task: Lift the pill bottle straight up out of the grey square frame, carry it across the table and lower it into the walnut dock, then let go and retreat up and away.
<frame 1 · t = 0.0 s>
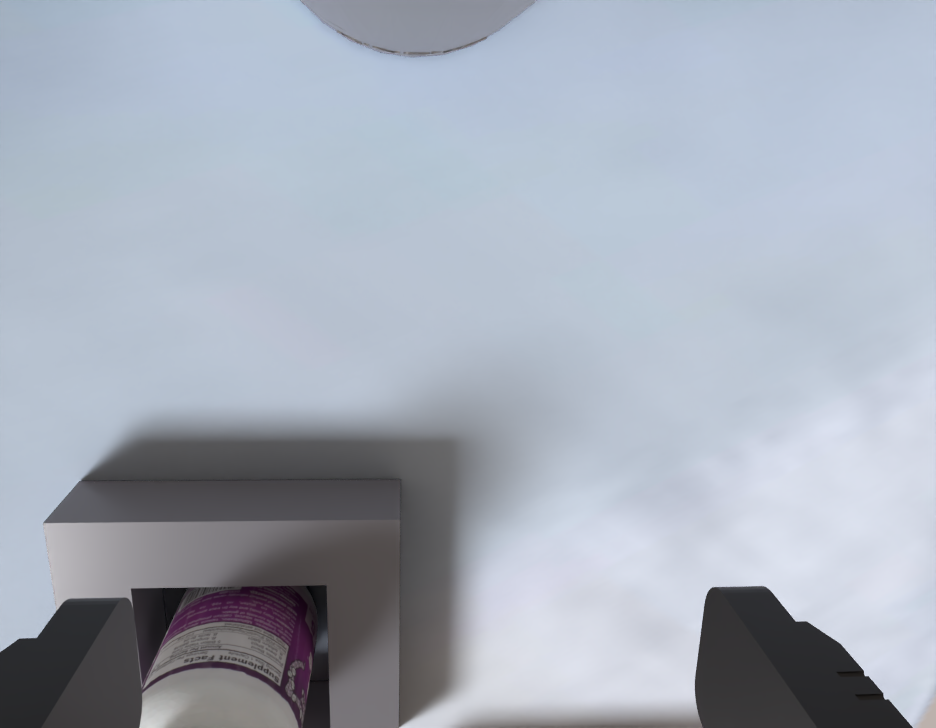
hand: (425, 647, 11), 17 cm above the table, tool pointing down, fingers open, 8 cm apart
grey square frame: (251, 614, 30), on the table
pill bottle: (252, 610, 30), resting in grey square frame
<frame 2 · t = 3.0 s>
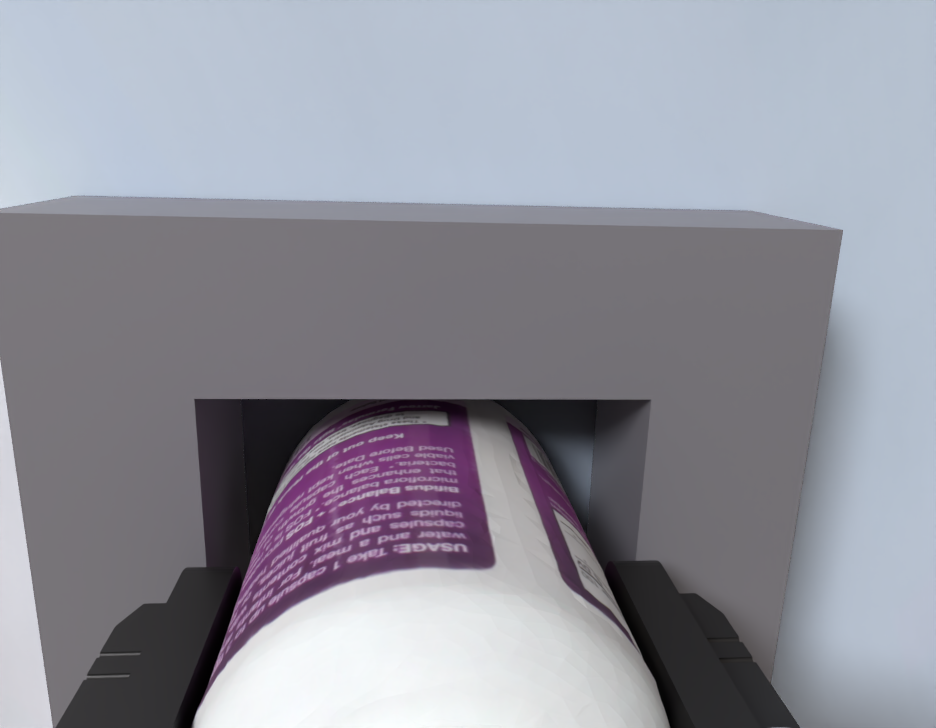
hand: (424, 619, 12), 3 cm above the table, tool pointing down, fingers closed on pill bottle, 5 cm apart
grey square frame: (421, 510, 15), on the table
pill bottle: (421, 505, 15), resting in grey square frame, touching gripper
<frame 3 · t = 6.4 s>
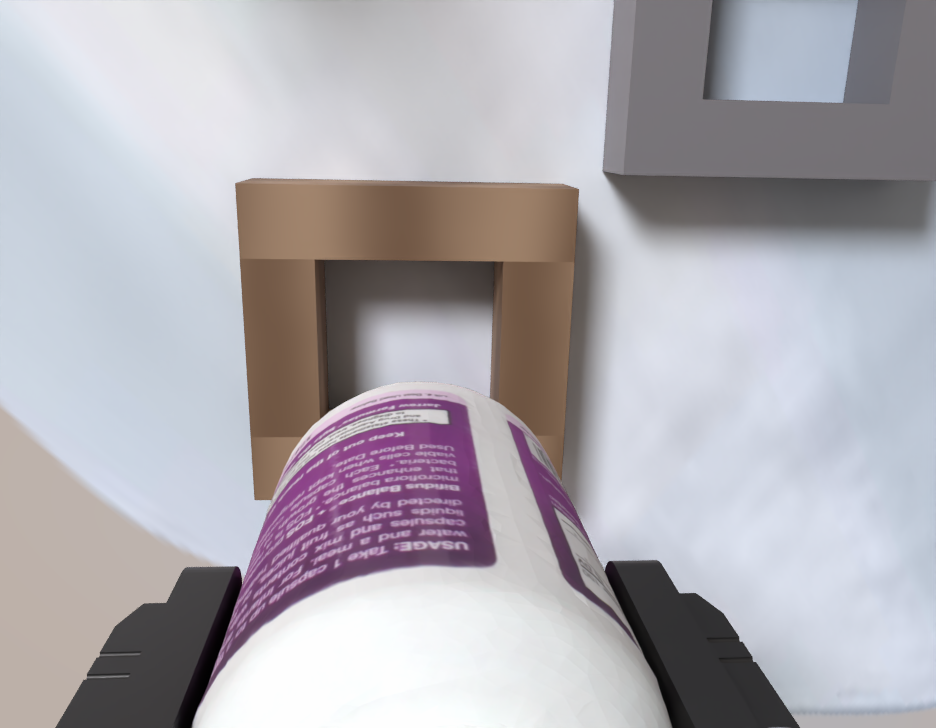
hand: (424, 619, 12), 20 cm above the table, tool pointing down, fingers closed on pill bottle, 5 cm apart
grey square frame: (770, 10, 28), on the table
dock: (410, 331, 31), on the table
pill bottle: (421, 504, 15), point 16 cm above the table, touching gripper
when the fingers open (5 cm above the table, at t = 9.8 s): pill bottle drops 1 cm, resting in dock.
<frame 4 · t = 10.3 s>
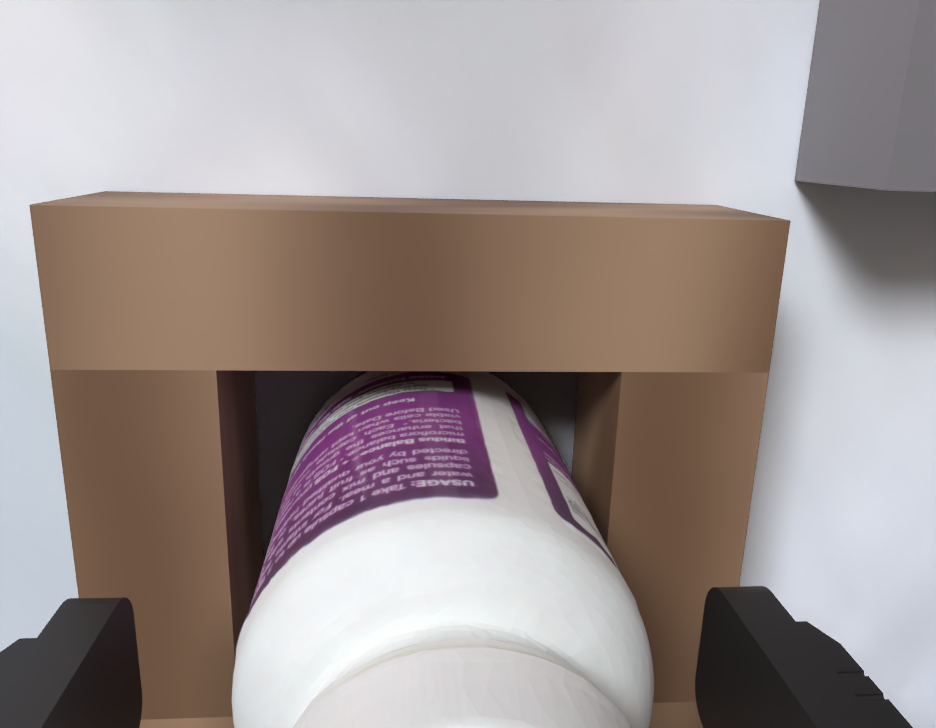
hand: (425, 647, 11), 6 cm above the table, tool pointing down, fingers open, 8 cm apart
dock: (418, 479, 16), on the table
pill bottle: (427, 471, 16), resting in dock
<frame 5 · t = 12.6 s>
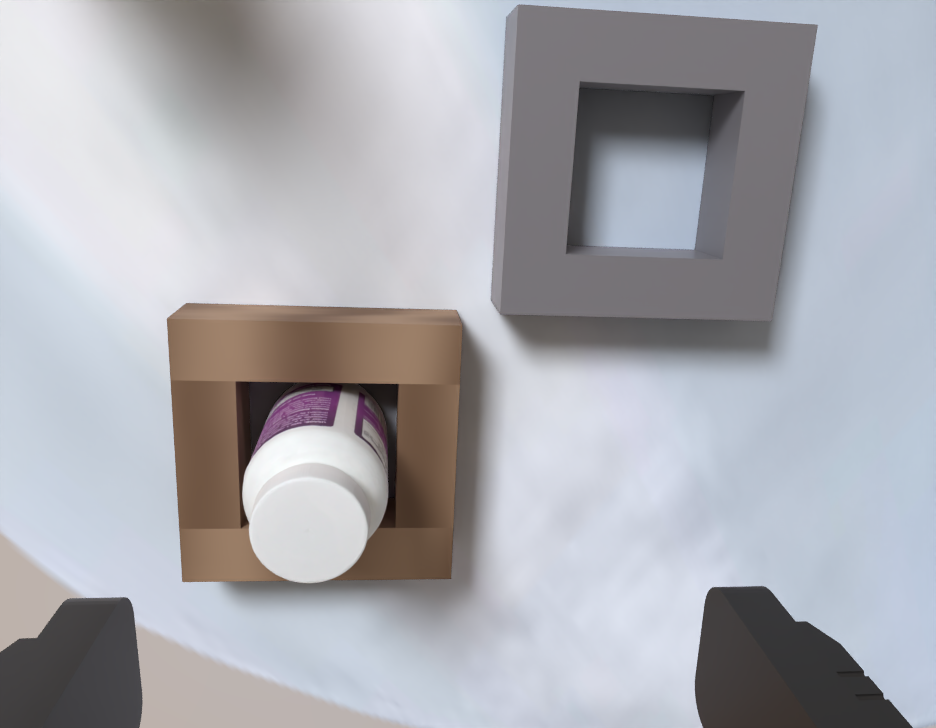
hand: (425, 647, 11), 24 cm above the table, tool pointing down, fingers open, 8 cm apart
grey square frame: (631, 171, 33), on the table
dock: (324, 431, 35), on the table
pill bottle: (329, 428, 35), resting in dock
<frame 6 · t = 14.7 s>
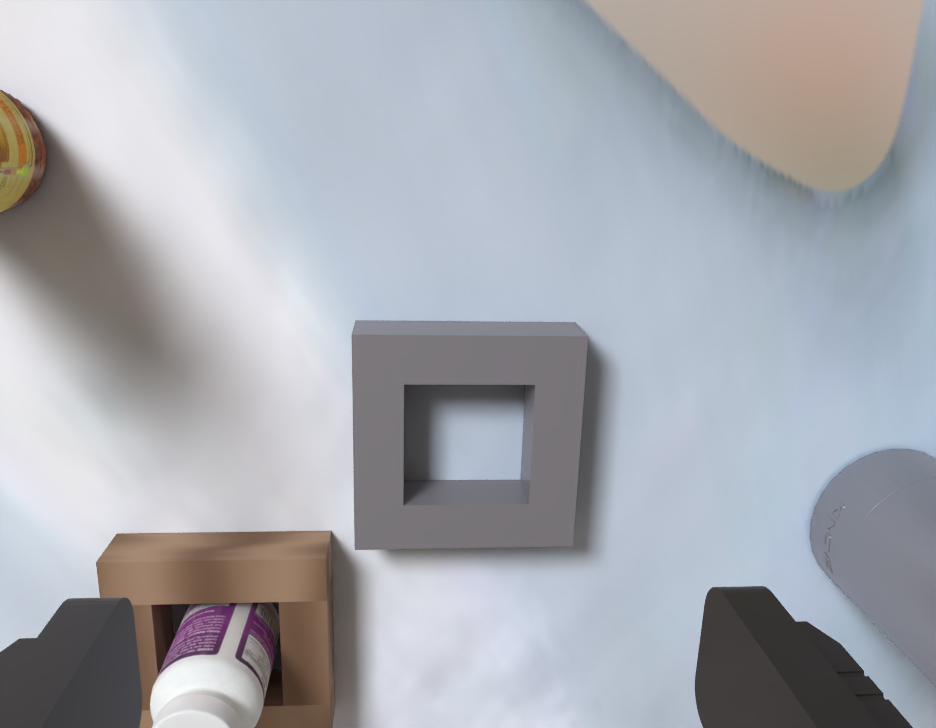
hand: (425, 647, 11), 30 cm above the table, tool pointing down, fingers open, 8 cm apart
grey square frame: (463, 425, 42), on the table
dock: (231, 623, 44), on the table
pill bottle: (235, 619, 45), resting in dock
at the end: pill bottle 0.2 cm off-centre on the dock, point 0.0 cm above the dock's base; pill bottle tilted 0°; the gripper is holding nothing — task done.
